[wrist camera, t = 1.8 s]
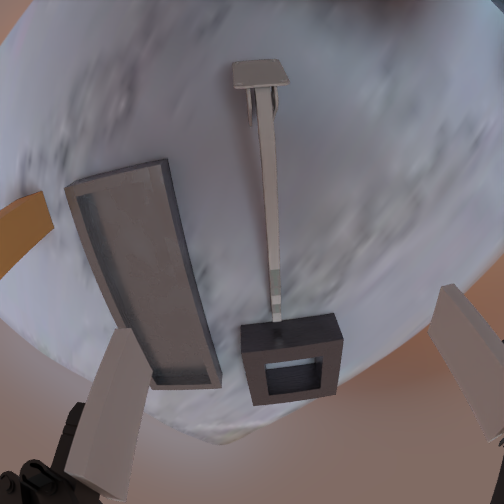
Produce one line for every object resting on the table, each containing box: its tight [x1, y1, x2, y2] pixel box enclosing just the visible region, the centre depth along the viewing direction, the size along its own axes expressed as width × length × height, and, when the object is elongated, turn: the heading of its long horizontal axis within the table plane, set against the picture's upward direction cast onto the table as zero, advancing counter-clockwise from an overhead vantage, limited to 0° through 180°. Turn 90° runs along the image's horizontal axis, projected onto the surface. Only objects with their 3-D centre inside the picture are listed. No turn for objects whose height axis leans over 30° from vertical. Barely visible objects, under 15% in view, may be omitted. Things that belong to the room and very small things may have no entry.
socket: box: [241, 313, 344, 406], centre depth 32 cm, size 10×10×4 cm
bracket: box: [232, 59, 290, 322], centre depth 23 cm, size 3×21×10 cm, turn 6°
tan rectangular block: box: [0, 191, 54, 280], centre depth 20 cm, size 4×4×10 cm
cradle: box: [64, 159, 222, 390], centre depth 28 cm, size 26×9×2 cm, turn 7°
